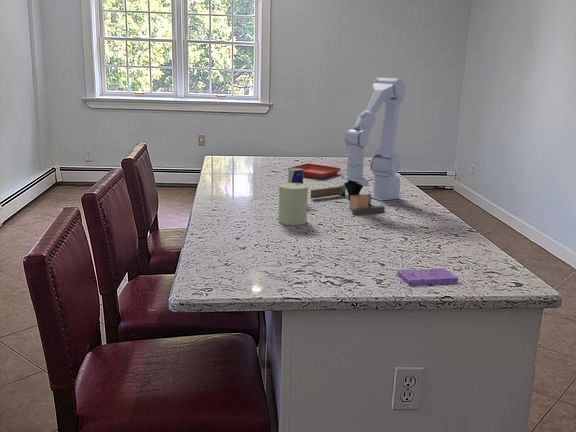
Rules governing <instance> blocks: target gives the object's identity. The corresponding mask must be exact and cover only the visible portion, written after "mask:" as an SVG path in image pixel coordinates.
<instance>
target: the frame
mask: <svg viewBox="0 0 576 432" xmlns="http://www.w3.org/2000/svg"><path fill="white" fill-rule="evenodd" d="M339 187H340V195H338V196H340V197H341V198H344V199H347V200H348V201H349V196H348V194H347V189H346V187H345V185H344V184H340V185H339ZM362 195H364V196H367V197H369V200H368V207H372V197H371V195H373V193H362Z"/></svg>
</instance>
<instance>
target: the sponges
mask: <svg viewBox="0 0 576 432" xmlns="http://www.w3.org/2000/svg"><path fill="white" fill-rule="evenodd" d="M396 272H397V276H398V277H399V278H400V279H401V278H402V279H403V280H402V279H401V280H402V281H404V283H406V285H408V286H419V285H418V284H421V285H432V283H433V285H434V284H435V283H436V284H435V285H439V284H455V283H457V282H459V277H458V276H457V275H455V274H453V273H451V272H450V271H448V269H446V268H427V269H426V268H423V269H420V268H419V269H417V268H416V269H397V271H396ZM437 283H438V284H437ZM416 284H417V285H416Z"/></svg>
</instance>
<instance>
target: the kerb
mask: <svg viewBox="0 0 576 432" xmlns="http://www.w3.org/2000/svg"><path fill="white" fill-rule="evenodd" d="M385 207H386V206H384V205H375V206H368V207H365V208H355V209H351V210H352V215H354V216H360V215H368V214H376V213H377V214H378V213H385V212H386V211H385Z"/></svg>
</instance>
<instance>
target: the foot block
mask: <svg viewBox="0 0 576 432" xmlns="http://www.w3.org/2000/svg"><path fill="white" fill-rule="evenodd" d="M368 200H369V197H367V196H364V195H363V194H360V193H359V195H350V201H349V209H351V210H353V209H355V208H365V207H369V206H368Z"/></svg>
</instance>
